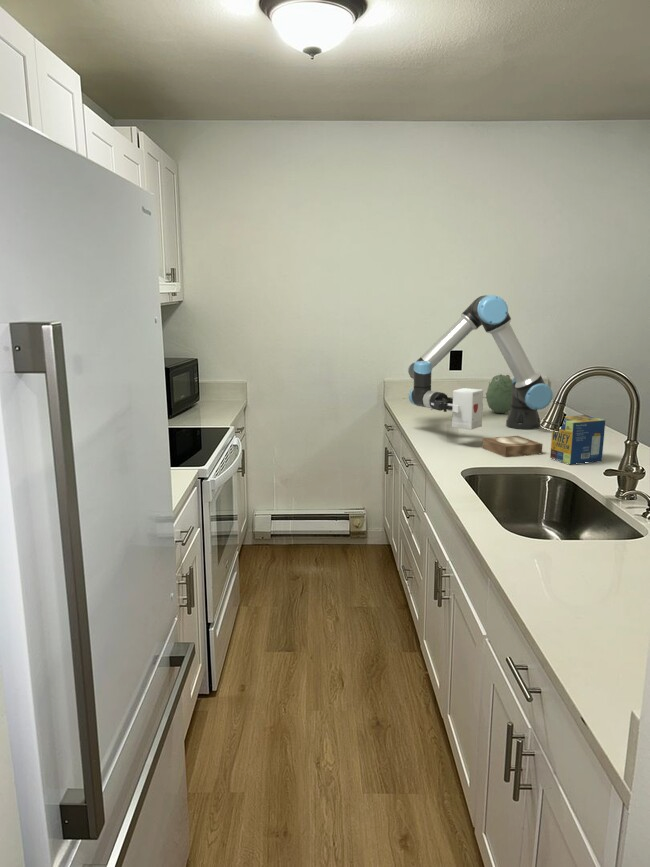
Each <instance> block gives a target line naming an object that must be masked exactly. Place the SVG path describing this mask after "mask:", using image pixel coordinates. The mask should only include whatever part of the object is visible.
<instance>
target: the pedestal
mask: <svg viewBox="0 0 650 867" xmlns="http://www.w3.org/2000/svg"><path fill="white" fill-rule="evenodd" d="M543 445H544V444H543V443H542V442H539V441H535V440H532V439H529V438H526V437H523V436H520V435H510V436H509V435H508V436H498V437H497V436H496V437H484V438H482V447H481V448H482V449H483V450H486V451H488V452H490V453H491V452H492V453H493V454H496V455H498V456H500V457H504V458H512V457H523V456H524V455H526V456H532V455H531V454H538V455H540V454H539V453H542V454H543Z"/></svg>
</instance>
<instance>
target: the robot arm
mask: <svg viewBox="0 0 650 867" xmlns="http://www.w3.org/2000/svg"><path fill="white" fill-rule="evenodd" d="M511 322H512V318H511V315H510V313H509V307H508V304H507V302H506V301H505V300H504V298H502V297H500V296H498V295H496V294H495V295H494V294H489V295H481V296H479V297H477V298H476V299H474V300H473V302H471V303H470V304H469V306H467V308H466V309H465V310H464V311H463V312H462V313H461V315H460V318H459V319H458V320H457V321H456V322H454V324H453V325H452V326H450V327H449V328H448V330H447V331H446V332H444V334H443V335H441V336H440V337H439V338H438V340H436V342H434V343H433V344H432V345H431V346H430V347H429V348H428V349H427V350H426V351H425V352H424V353H423V354H422V355H421V356H420V357H419V358H418V359H417V360H416V361H415V362H412V363H411V364H410V365H408V369H407V372H408V375H409V377H410V378H411V379H412V380H413V388H412V389H411V390H410V391H409V394H408V401H409V402H410V403H411V404H412V405H414V406H416V407H421V408H428V409H430V410H431V411H433V410H434V411H440V412H441V411H443V412H444V413H447V411H449V412H452V411H453V412H457V413H459V412H460V406H459V405H454V404H453V397H448V395H447V394H446V393H445V392H440V391H435V390H432V371H433V369H434V368H435V367H436V366H437V365H438V364H439V363H440V362H441V361H442V360H443V359H444V358H446V356H447V355H449V354H450V353H451V351H453V350H454V348H455V347H457V346H458V345H459V344H460V343H461V342H462V341H463V340H464V339H465V338H466V337H467V336H469V334H470V333H472V331H474V330H477V329H479V328H480V327H481V326H482V328H483V330H484V331H485V333H487V334H490V335H491V337H492V338H493V340H494V342H495V344H496V345H497V348H498V349H499V351H500V353H501V355H502V357H503V359H504V360H505V362H506V364H507V366H508V368H509V370H510V372H511V373H512V376H513V378H512V381H513V382H512V399H511V410H510V411H509V413H508V416H507V419H506V423H505V425H506V426H505V427H507V428H512V429H518V430H519V429H520V430H535V429H534V428H537V429H540V428H541V424H540V423H541V420H540V415H539V410H543V409H546V408H547V407H548V406H549V405H550V404H551V403H552V400H553V397H554V396H553V391H552V388H551V387H550V386H549V385H548V384H547V383H546V382H545V381H544V378H543V377H542V375H541V373H539V372H535V370H534V367H533V366H532V364H531V361H530V360H529V358H528V357H527V355H526V353H525V351H524V349H523V347H522V345H521V343H520V341H519V339H518V338H517V336H516V333H515V331H514V330H513V328H512V325H511ZM539 427H540V428H539Z"/></svg>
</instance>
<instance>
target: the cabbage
mask: <svg viewBox="0 0 650 867" xmlns="http://www.w3.org/2000/svg"><path fill="white" fill-rule="evenodd" d="M512 382H513V378H511V376H510V375H509V374H505V375H504V374H502V373H501V374H498V375H495V376H493V377H491V381H489V382H488V387H487V390H486V393H485V398H486V402H487V406H488V407H489V409H491V411H493V412H494V413H496V414H506V413H508V412H510V410H511V399H512Z"/></svg>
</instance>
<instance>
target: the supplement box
mask: <svg viewBox="0 0 650 867" xmlns="http://www.w3.org/2000/svg"><path fill="white" fill-rule="evenodd" d="M452 398H453V404H454V405H459V406H460V412H459V413H457V412H453V411H451V413H452V418H451V420H452V421H451V428H455V429H462V430H463V429H464V430H470V431H471V430H472V431H473V430H475V429H478V428H481V427H483V409H484V390H483V389H480V388H479V389H478V388H477V389H476V388H469V387H462V388H458V389H454V390H453V391H452Z"/></svg>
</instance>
